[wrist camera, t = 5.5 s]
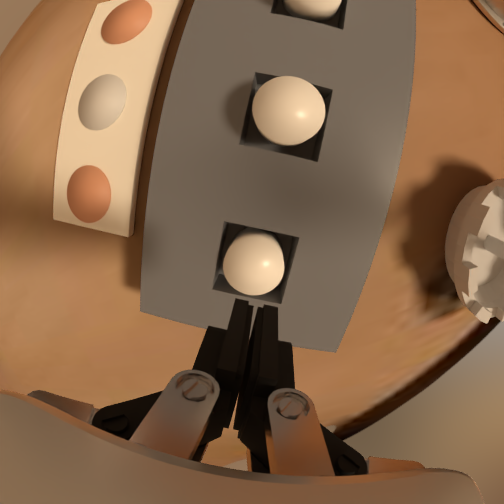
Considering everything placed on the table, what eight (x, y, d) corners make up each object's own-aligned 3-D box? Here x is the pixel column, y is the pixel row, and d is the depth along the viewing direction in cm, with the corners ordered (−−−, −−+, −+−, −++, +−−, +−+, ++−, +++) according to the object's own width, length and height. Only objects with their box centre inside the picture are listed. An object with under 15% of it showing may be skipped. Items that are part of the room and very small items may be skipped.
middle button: (261, 84, 16) (260, 69, 13) (321, 97, 16) (330, 86, 13) (249, 139, 17) (245, 135, 14) (309, 153, 17) (317, 151, 14)
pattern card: (102, 7, 15) (97, 3, 14) (185, -4, 15) (181, -10, 14) (59, 217, 22) (51, 219, 21) (133, 234, 22) (127, 237, 21)
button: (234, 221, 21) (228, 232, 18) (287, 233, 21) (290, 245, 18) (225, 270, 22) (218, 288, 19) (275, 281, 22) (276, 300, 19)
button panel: (226, -38, 14) (221, -59, 10) (400, 1, 14) (414, -15, 10) (155, 292, 24) (140, 311, 21) (328, 329, 24) (335, 352, 21)
